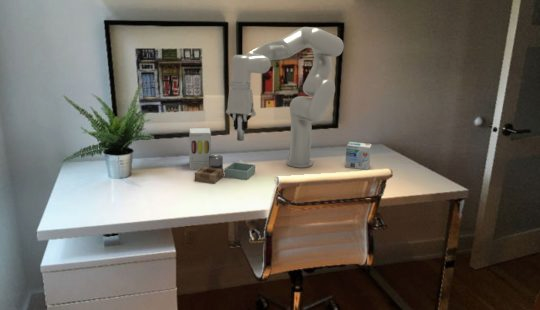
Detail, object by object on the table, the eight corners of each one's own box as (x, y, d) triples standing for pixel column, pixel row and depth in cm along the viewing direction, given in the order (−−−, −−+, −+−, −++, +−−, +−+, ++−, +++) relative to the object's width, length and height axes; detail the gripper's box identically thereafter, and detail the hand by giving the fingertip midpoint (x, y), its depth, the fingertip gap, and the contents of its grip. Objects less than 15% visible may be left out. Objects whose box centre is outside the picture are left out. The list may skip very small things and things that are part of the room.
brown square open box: (204, 174, 204) (204, 166, 203) (223, 176, 201) (223, 169, 200) (194, 180, 196) (194, 172, 195) (214, 183, 193) (214, 175, 192)
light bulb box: (344, 167, 219) (346, 144, 216) (347, 163, 226) (348, 141, 222) (367, 170, 216) (369, 147, 213) (369, 166, 222) (371, 143, 219)
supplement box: (189, 169, 209) (189, 132, 204) (189, 163, 218) (188, 127, 213) (211, 169, 211) (211, 132, 206) (210, 162, 220) (209, 127, 215)
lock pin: (238, 138, 202) (238, 108, 199) (245, 139, 201) (246, 109, 198) (234, 140, 199) (235, 110, 195) (242, 141, 198) (243, 110, 194)
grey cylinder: (212, 169, 211) (212, 152, 208) (224, 171, 209) (224, 154, 207) (206, 173, 205) (206, 156, 203) (219, 175, 203) (219, 157, 201)
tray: (233, 169, 211) (233, 162, 210) (255, 172, 208) (255, 164, 207) (224, 176, 202) (224, 168, 201) (247, 179, 199) (247, 171, 198)
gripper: (219, 85, 193) (219, 129, 198) (256, 88, 188) (255, 133, 193) (226, 83, 199) (226, 125, 205) (263, 86, 195) (261, 129, 200)
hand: (240, 129), depth 199 cm, fingers closed on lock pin, 3 cm apart
